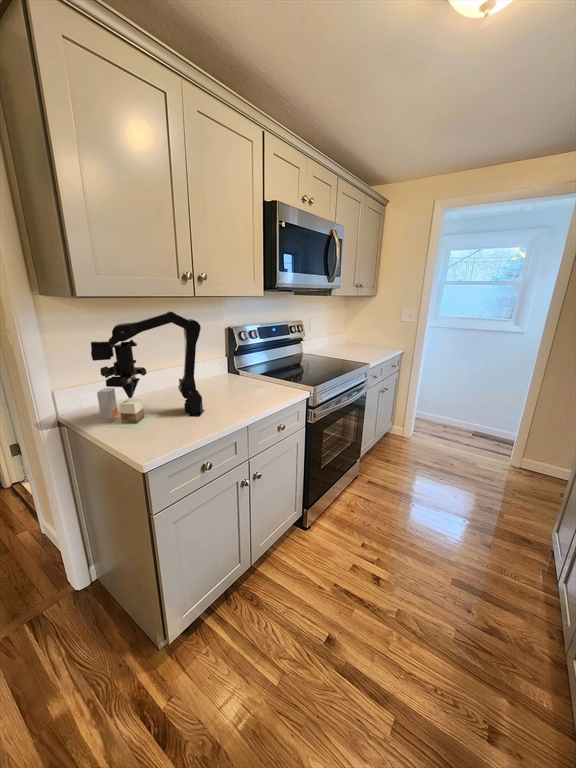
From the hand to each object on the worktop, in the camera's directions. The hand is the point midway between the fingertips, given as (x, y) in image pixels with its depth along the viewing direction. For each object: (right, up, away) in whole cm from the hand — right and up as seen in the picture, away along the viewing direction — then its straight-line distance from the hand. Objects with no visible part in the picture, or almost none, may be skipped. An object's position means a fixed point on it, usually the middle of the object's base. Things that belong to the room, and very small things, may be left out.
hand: (130, 397), depth 122 cm
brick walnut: (0, -9, +3) cm, 10 cm away
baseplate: (0, -10, +3) cm, 10 cm away
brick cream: (0, -5, +2) cm, 6 cm away
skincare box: (-12, -9, +7) cm, 16 cm away
